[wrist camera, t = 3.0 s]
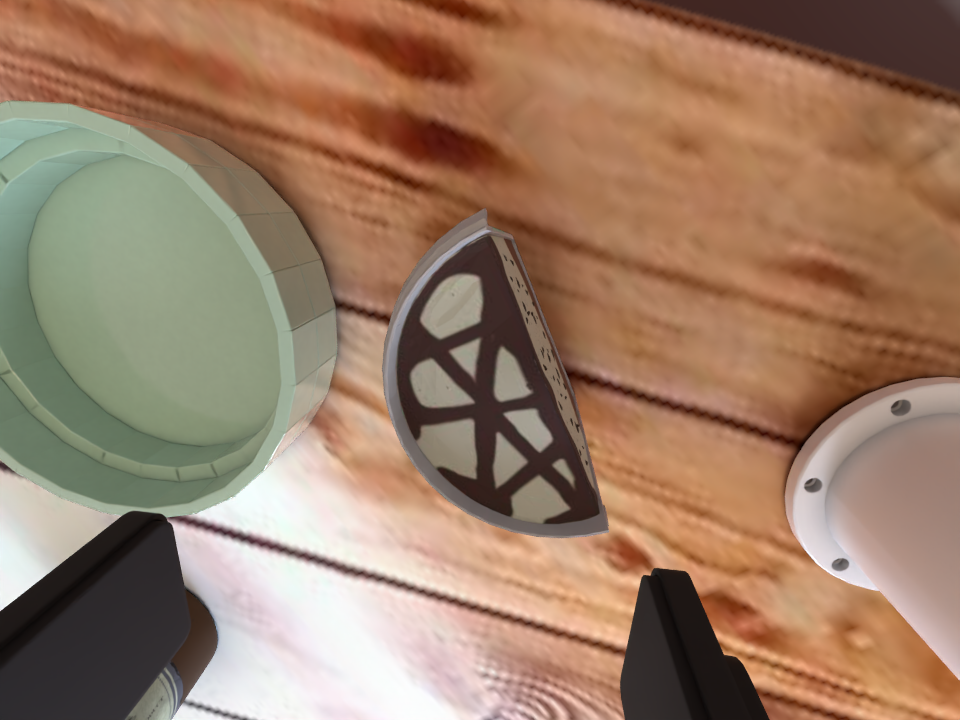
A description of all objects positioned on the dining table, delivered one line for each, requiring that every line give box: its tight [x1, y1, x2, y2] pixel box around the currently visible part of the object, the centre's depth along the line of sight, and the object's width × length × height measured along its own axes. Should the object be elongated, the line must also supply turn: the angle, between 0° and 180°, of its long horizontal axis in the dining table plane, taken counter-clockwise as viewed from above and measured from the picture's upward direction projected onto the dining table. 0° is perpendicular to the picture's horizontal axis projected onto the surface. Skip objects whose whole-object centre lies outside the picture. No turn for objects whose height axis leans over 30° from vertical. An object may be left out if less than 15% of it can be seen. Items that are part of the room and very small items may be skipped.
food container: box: [382, 208, 609, 538], centre depth 21 cm, size 12×6×10 cm, turn 23°
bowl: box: [0, 100, 337, 517], centre depth 24 cm, size 19×19×6 cm
